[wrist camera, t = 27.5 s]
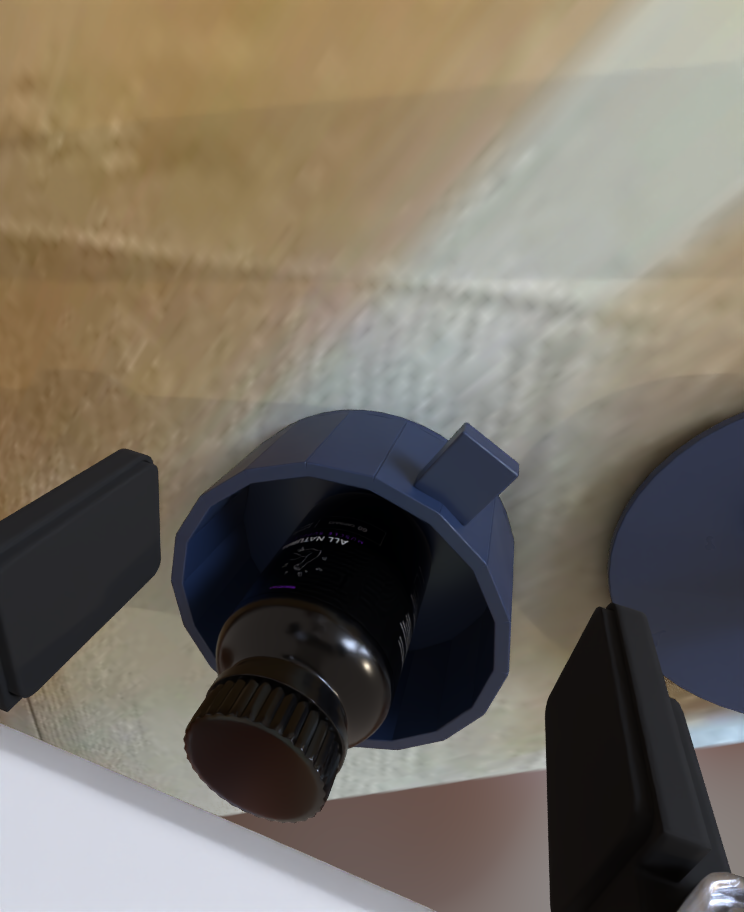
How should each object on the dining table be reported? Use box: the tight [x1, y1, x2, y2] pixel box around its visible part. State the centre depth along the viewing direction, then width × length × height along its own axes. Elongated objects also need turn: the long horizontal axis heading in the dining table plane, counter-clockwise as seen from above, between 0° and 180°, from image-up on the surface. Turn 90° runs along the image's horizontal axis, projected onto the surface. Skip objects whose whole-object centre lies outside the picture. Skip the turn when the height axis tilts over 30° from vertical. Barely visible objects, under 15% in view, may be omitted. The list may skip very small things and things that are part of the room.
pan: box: [171, 410, 519, 750], centre depth 24 cm, size 14×20×6 cm
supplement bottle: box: [184, 492, 431, 823], centre depth 21 cm, size 7×7×12 cm
